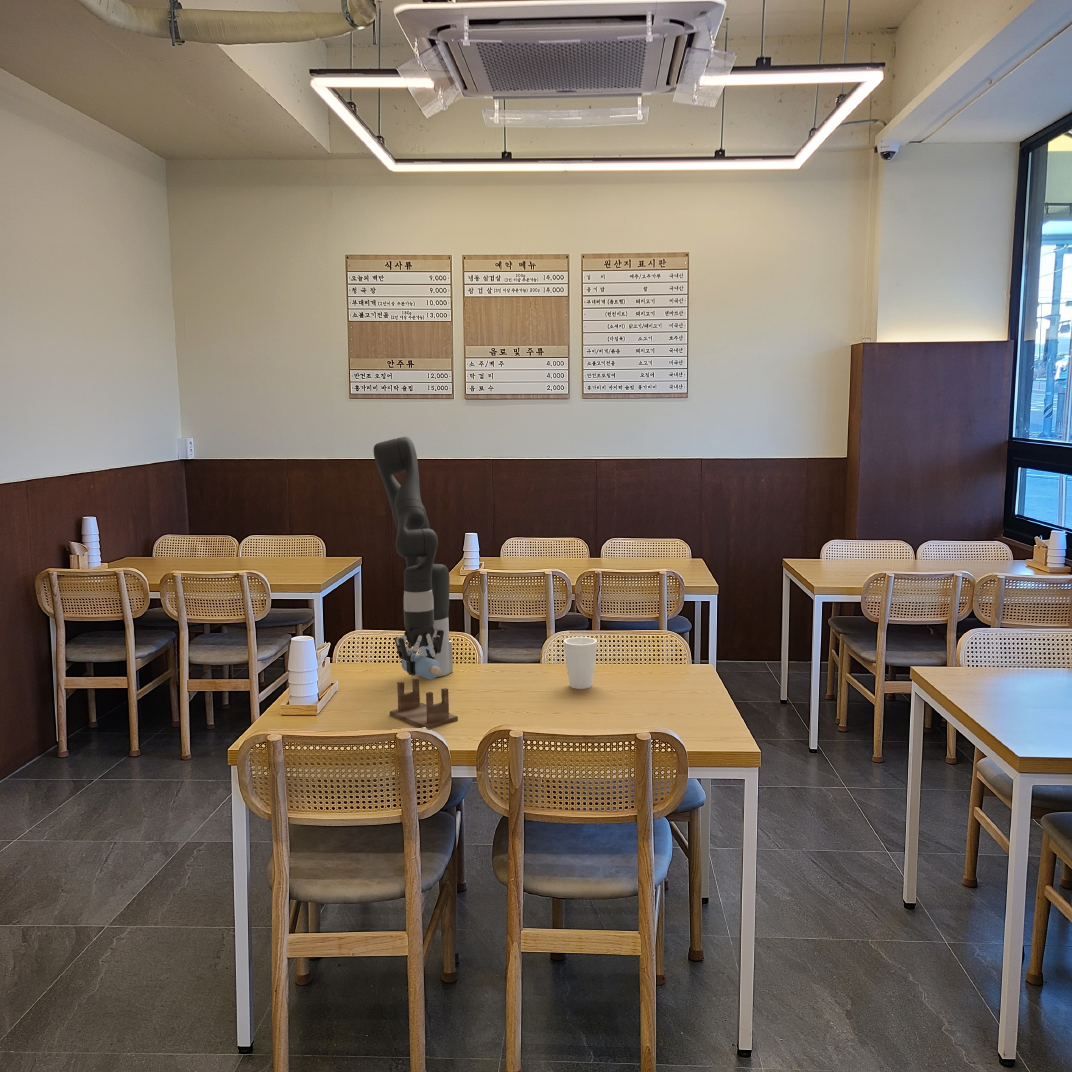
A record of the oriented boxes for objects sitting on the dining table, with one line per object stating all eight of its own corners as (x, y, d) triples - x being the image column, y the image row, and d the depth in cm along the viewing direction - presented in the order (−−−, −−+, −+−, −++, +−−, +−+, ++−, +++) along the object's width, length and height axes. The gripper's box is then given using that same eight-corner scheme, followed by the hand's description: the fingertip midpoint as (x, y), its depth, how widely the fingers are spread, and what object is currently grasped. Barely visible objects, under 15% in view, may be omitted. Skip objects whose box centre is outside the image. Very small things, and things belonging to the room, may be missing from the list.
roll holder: (389, 714, 242) (388, 683, 241) (421, 706, 249) (420, 675, 248) (425, 729, 231) (424, 696, 229) (457, 720, 237) (456, 687, 236)
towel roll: (396, 671, 242) (396, 652, 241) (412, 668, 245) (412, 649, 245) (429, 682, 231) (429, 663, 231) (445, 679, 234) (445, 659, 234)
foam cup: (602, 683, 267) (602, 638, 265) (590, 692, 259) (590, 646, 257) (571, 679, 271) (571, 635, 269) (559, 688, 263) (558, 643, 261)
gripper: (433, 601, 243) (435, 664, 246) (386, 609, 234) (388, 675, 236) (450, 605, 238) (452, 670, 240) (403, 614, 228) (405, 681, 231)
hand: (420, 672), depth 238 cm, fingers closed on towel roll, 5 cm apart
